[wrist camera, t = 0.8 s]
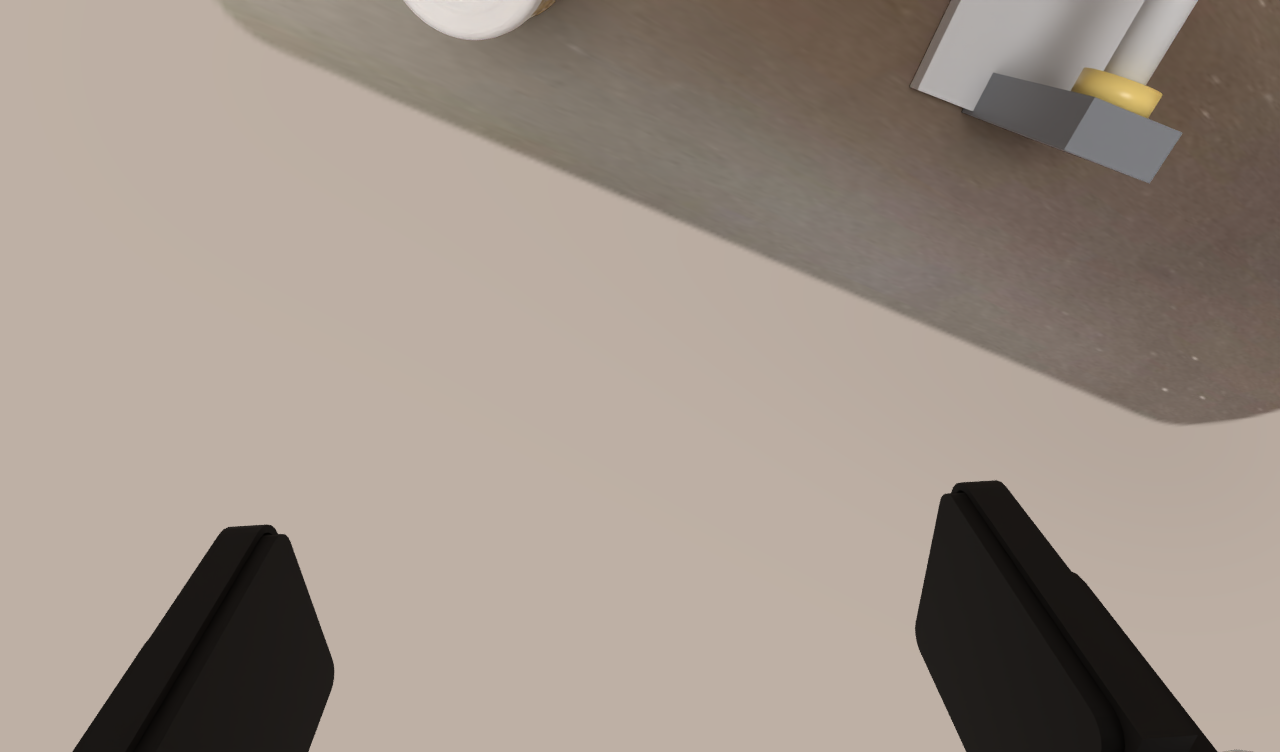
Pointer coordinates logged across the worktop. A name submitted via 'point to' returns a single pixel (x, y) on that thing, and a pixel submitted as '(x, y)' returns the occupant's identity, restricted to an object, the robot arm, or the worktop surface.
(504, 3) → the sprinkles bottle
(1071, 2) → the slider rail rig
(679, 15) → the worktop surface
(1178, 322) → the worktop surface
